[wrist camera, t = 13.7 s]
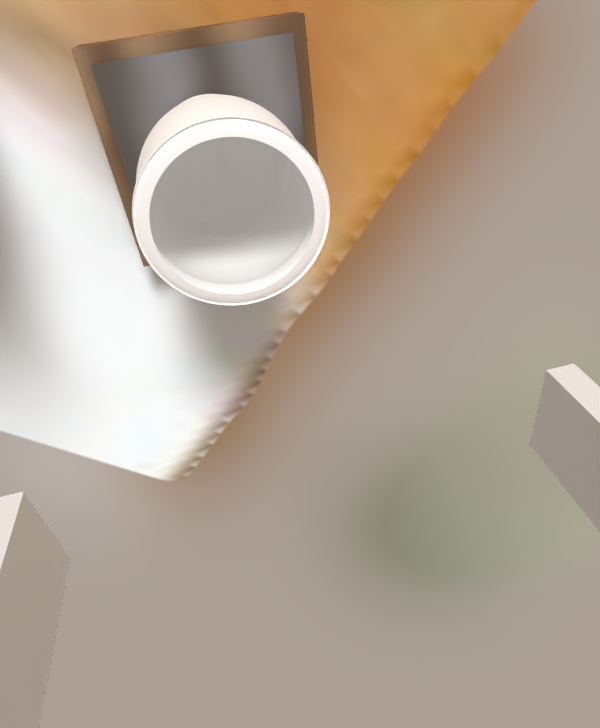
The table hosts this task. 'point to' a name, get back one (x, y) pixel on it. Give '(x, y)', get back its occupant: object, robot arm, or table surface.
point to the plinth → (194, 82)
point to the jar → (228, 201)
